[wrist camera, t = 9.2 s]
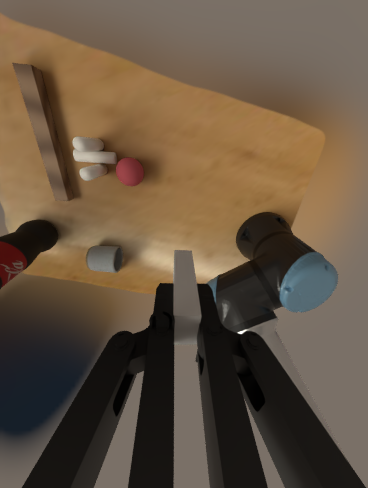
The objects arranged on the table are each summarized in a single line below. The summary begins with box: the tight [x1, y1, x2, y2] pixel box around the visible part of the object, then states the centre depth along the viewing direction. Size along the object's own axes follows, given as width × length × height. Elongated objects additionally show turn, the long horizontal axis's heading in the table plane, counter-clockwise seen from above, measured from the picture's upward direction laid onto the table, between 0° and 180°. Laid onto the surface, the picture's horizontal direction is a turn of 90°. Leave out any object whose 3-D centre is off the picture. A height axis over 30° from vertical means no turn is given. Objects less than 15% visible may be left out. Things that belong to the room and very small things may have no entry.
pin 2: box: [80, 164, 108, 181], centre depth 37 cm, size 2×2×8 cm
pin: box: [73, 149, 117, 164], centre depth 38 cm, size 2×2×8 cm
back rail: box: [13, 63, 74, 201], centre depth 36 cm, size 24×3×2 cm, turn 176°
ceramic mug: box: [86, 246, 123, 273], centre depth 50 cm, size 11×8×8 cm
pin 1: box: [73, 137, 104, 152], centre depth 34 cm, size 2×2×8 cm
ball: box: [116, 157, 144, 186], centre depth 38 cm, size 6×6×6 cm
